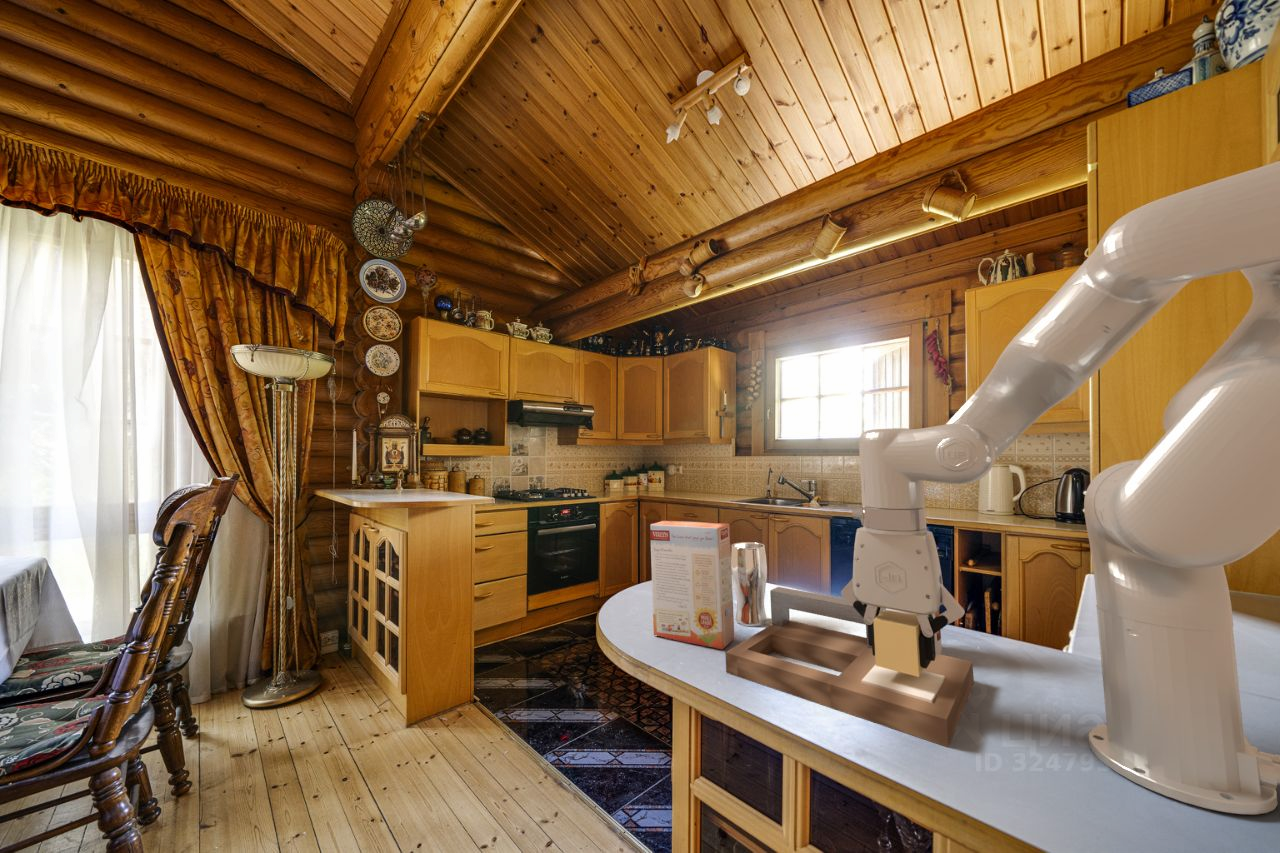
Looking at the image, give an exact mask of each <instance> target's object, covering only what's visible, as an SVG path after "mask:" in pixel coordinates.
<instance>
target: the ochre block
mask: <svg viewBox="0 0 1280 853" xmlns="http://www.w3.org/2000/svg"><path fill="white" fill-rule="evenodd" d="M873 622H874V641H875V659H876V666H879V667H883V668H887V669H890V670H894V671H898V672H902V673H906V674H909V675H913V676H917V677H919V676H920V674H921V673H922V671H923V670H924V668H922V667H921V666H920V653H919V635H920V634H921V627H920V624H919V622H918V619H917V616H916V615H911V614H906V613H900V612H895V611H890V610H886V609H885V610H883V611H882V612H881V613H880V614H879V615H878V616H876V617H875V618H874V619H873Z"/></svg>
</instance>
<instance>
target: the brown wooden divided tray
mask: <svg viewBox="0 0 1280 853" xmlns="http://www.w3.org/2000/svg"><path fill="white" fill-rule="evenodd" d="M770 654H775V655H780V656H784V657H787V658H790V659H795V660H798V661H801V662H805V663H808V664H811V665H815V666H818V667H819V666H820V667H823V668H825V669H830V670H832V671H836V672H840V673H839V675H837V674H833V673H830V672H827V671H823V670H819V669H815V668H812V667H808V666H805V665H802V664H798V663H795V662H792V661H789V660H786V659H785V660H784V659H781V658H778V657H774V656H772V655H770ZM973 663H974V662H973V661H971V660H966V659H962V658H958V657H954V656H948V655H944V654H941V655H940V654H936V657H935V660H934V661H931V662H930V664H929V665H928V667H927V668H926V669H925V668H924V670H923V671H922V673H921V674H920V676H919V677H917V676H913V675H909V674H906V673H902V672H898V671H894V670H890V669H887V668H883V667H879V666H876V659H875V656H874V655H873V653H872V647H867V637H865V636H862V635H861V636H860V635H855V634H851V633H846V632H842V631H838V630H833V629H830V628H825V627H821V626H816V625H812V624H806V623H802V622H798V621H794V620H793V621H792V620H790V622H788V623H787V624H785V625H784V626H779V625H775V624H772V623H771V624H770V625H768V626H767V627H765V628H764V629H762V630H760V631H758V632H757V633H755V634H753V635H751V636H750V637H749V638H747V639H745V640H743V641H742V642H740V643H738V644H737V645H735V646H734V647H732V648H730V649H729V650H727V651H725V672H727V674H729V673H730V675H733V676H735V675H736V677H738V678H741V679H745V680H747V681H749V682H750V681H751V682H754V683H757V684H759V685H762V686H765V687H768V688H771V689H774V690H778V691H780V692H783V693H786V694H788V695H792V696H795V697H798V698H801V699H804V700H806V701H810V702H813V703H816V704H819V705H822V706H825V707H827V708H830V709H834V710H837V711H839V712H842V713H845V714H848V715H851V716H854V717H857V718H860V719H864V720H867V721H870V722H872V723H875V724H878V725H881V726H883V727H887V728H890V729H893V730H895V731H899V732H902V733H904V734H907V735H911V736H913V737H917V738H919V739H923V740H926V741H929V742H931V743H935V744H937V745H941V746H943V747H946V748H949V746H950V744H951V741H952V740H953V736H954V733H955V731H956V729H957V727H958V725H959V722H960V719H961V717H962V715H963V712H964V709H965V707H966V704H967V702H968V700H969V697H970V695H971V691H972V690H973V687H974V685H975V681H974V680H975V679H974V665H973Z"/></svg>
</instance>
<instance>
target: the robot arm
mask: <svg viewBox="0 0 1280 853" xmlns="http://www.w3.org/2000/svg"><path fill="white" fill-rule="evenodd" d="M1236 271H1240V272H1241V273H1242V275H1243V276H1244V277H1245V279H1246V280H1247V281H1248V283H1249V286H1250V288H1251V292H1252V303H1251V304H1250V308H1249V309H1248V311H1247V312H1246V314H1245V316H1244V317H1243V318H1242V320H1241V321H1240V323H1239V324H1237V325H1236V328H1234V330H1233V331H1232V333H1230V335H1229V336H1228V338H1227V339H1225V341H1224V342H1223V344H1221V346H1220V347H1219V348H1218V349H1217V350H1216V351H1215V352H1214V353H1213V355H1212V356H1211V357H1210V358H1208V360H1207V361H1206V362H1205V363H1204V364H1203V366H1202V367H1200V369H1199V370H1198V371H1197V372H1196V373H1195V374H1194V375H1193V376H1192V377H1191V378H1190V379H1189V380H1188V382H1187V383H1186V384H1184V385H1183V386H1182V387H1181V388H1180V389H1179V390H1178V391H1177V392H1176V393H1175V394H1174V395H1173V396H1172V397H1171V399H1170V400H1169V402H1168V404H1167V405H1166V407H1165V410H1164V413H1163V416H1162V427H1163V430H1164V435H1162V436H1161V438H1160V439H1159V440H1158V441H1157V443H1156V444H1154V446H1153V447H1152V448H1151V449H1150V450H1149V451H1148V452H1147V454H1146V455H1144V457H1143V458H1141V459H1135V460H1134V459H1133V460H1127V461H1122V462H1119V463H1116V464H1113V465H1111V466H1108V467H1107V468H1105V469H1103V470H1102V471H1101V472H1099V473H1098V474H1096V475H1095V477H1094V478H1093V479H1092V480H1091V482H1090V483H1089V485H1088V486H1087V489H1086V492H1085V496H1084V501H1083V508H1084V509H1083V510H1084V519H1085V526H1086V531H1087V536H1088V537H1087V538H1088V541H1089V542H1088V543H1089V547H1090V553H1091V560H1092V561H1091V562H1092V567H1093V568H1092V569H1093V580H1094V586H1095V597H1096V598H1095V599H1096V615H1097V616H1096V617H1097V625H1098V626H1097V627H1098V640H1099V648H1100V661H1101V671H1102V683H1103V684H1102V686H1103V694H1104V695H1103V698H1104V707H1105V719H1106V724H1100V725H1097V726H1094V727H1093V728H1092V729H1090V730H1089V732H1088V742H1089V744H1090V745H1089V747H1090V746H1091V747H1090V749H1092V750H1091V751H1092V753H1094V755H1095V756H1096V757H1097V758H1098V759H1099V760H1100V761H1101V762H1103V763H1104V764H1105V765H1106V767H1108V768H1110V769H1112V770H1113V771H1114V772H1116V773H1117V774H1119V775H1121V776H1123V777H1124V778H1125V779H1128V780H1129V781H1132V782H1134V783H1135V784H1138V785H1139V786H1142V787H1143V788H1146V789H1148V790H1151V791H1153V792H1156V793H1158V794H1160V795H1163V796H1165V797H1167V798H1170V799H1174V800H1177V801H1180V802H1182V803H1185V804H1188V805H1192V806H1196V807H1199V808H1203V809H1208V810H1211V811H1217V812H1221V813H1227V814H1236V815H1248V816H1249V815H1260V814H1268V813H1269V812H1272V811H1274V810H1276V807H1277V806H1278V804H1279V803H1278V795H1277V794H1278V793H1277V790H1276V789H1277V788H1278V786H1280V754H1272V753H1269V752H1264V751H1261V750H1258V747H1256V746H1252V745H1251V743H1250V742H1249V740H1248V738H1247V736H1246V735H1245V733H1244V723H1243V714H1242V704H1241V694H1240V685H1239V676H1238V675H1239V674H1238V673H1239V672H1238V664H1237V655H1236V644H1235V635H1234V628H1233V627H1234V619H1233V608H1232V601H1231V596H1230V594H1231V593H1230V588H1229V585H1228V583H1229V582H1228V580H1227V575H1226V572H1225V568H1224V566H1226V565H1228V564H1233V563H1234V562H1236V561H1239V560H1241V559H1242V558H1245V557H1246V556H1248V555H1250V554H1251V553H1252V552H1254V551H1255V550H1256V549H1258V548H1259V547H1261V546H1262V545H1264V544H1265V543H1266V541H1268V540H1269V539H1270V538H1271V537H1272V536H1274V535H1275V534H1276V533H1277V532H1278V531H1279V530H1280V160H1278V161H1275V162H1273V163H1272V162H1271V163H1268V164H1266V165H1263V166H1262V165H1261V167H1257V168H1254V169H1250V170H1246V171H1244V172H1240V173H1238V174H1233V175H1230V176H1227V177H1224V178H1220V179H1217V180H1214V181H1211V182H1207V183H1205V184H1201V185H1199V186H1194V187H1192V188H1188V189H1186V190H1183V191H1180V192H1177V193H1173V194H1171V195H1167V196H1165V197H1162V198H1159V199H1155V200H1153V201H1151V202H1149V203H1146V204H1144V205H1142V206H1140V207H1137V208H1135V209H1133V210H1131V211H1129V212H1127V213H1126V214H1124V215H1123V216H1122V217H1120V218H1118V219H1117V220H1116V221H1115V222H1114V223H1113V224H1111V225H1110V226H1109V228H1108V229H1107V230H1106V231H1105V232H1104V234H1103V236H1102V237H1101V239H1100V240H1099V241H1098V243H1097V245H1096V247H1095V249H1093V251H1092V253H1091V254H1090V255H1089V256H1088V257H1087V258H1086V259H1085V260H1084V262H1083V263H1081V265H1080V266H1078V269H1076V271H1075V272H1074V273H1073V274H1072V275H1071V276H1070V277H1069V278H1068V279H1067V281H1065V282H1064V283H1063V285H1062V286H1061V287H1060V288H1059V289H1058V290H1057V291H1056V293H1055V294H1054V295H1053V296H1052V297H1050V299H1049V300H1048V301H1047V302H1046V303H1045V304H1044V305H1043V307H1042V308H1040V310H1039V311H1038V312H1037V313H1036V314H1035V315H1034V316H1033V317H1032V318H1031V319H1030V320H1029V321H1028V322H1027V323H1026V324H1025V326H1024V327H1023V328H1022V329H1020V331H1019V332H1018V333H1017V334H1016V335H1015V336H1014V337H1013V339H1012V340H1011V341H1010V342H1009V343H1008V344H1007V346H1006V347H1005V348H1004V349H1003V351H1002V353H1001V354H1000V356H999V357H998V358H997V360H996V363H995V364H994V366H993V367H992V369H991V371H990V372H989V374H988V375H987V377H986V378H985V379H984V380H983V382H982V383H981V384H980V386H978V388H977V389H976V391H974V393H973V394H972V395H970V397H969V398H968V400H966V402H964V404H963V405H961V407H960V408H959V409H958V410H957V411H956V412H955V414H953V415H952V417H950V419H948V420H947V422H946V423H945V424H941V425H935V426H934V425H933V426H930V427H929V426H928V427H922V428H916V429H915V428H914V429H913V428H912V429H911V428H905V427H904V428H903V427H901V428H897V427H896V428H895V427H894V428H877V429H875V428H874V429H870V430H865V431H863V433H861V435H860V437H859V440H858V449H859V451H858V453H859V469H860V487H861V488H860V489H861V506H860V508H858V509H857V508H856V509H855V508H854V509H852V511H851V517H852V518H853V519H855V520H859V521H860V523H861V527H859V528H857V529H856V533H855V538H854V539H855V540H854V547H853V549H854V550H853V562H852V578H851V580H849V581H848V583H847V584H845V586H844V587H843V589H842V590H841V591H840V595H841V596H842V598H843V599H846V600H847V601H848V602H849V603H850V604H852V605H853V607H854V608H855V609H856V610H857V612H858V613H859V614H860V615H861V616H862V617H863V618H864V622H865V623H866V624H868V643H869V646H872V653H873V655H874V656H875V641H874V622H873V619H874V618H875V617H876V616H878V615H879V614H880V611H881V607H882V608H885V609H886V608H887V609H893V610H898V611H904V612H909V613H915V614H916V616H917V619H918V622H919V624H920V627H921V634H920V635H919V653H920V666H921V667H922V668H925V669H926V668H927V667H928V665H929V664H930V662H931V661H934V660H935V657H936V653H935V637H934V634H935V633H936V632H938V631H939V630H940V631H941V630H942V629H943V628H945V627H946V626H947V625H949V624H952V623H953V622H956V621H957V620H959V619H961V618H962V617H964V615H965V609H964V608H963V606H961V604H960V603H959V602H958V601H957V600H956V599H955V597H954V596H953V595H952V594H951V593H950V592H949V591H948V589H947V588H946V587H945V586H944V584H943V576H942V569H941V564H940V558H939V554H938V549H937V544H936V541H935V538H934V534H933V532H932V531H929V530H927V515H926V501H925V500H926V498H925V497H926V496H925V483H924V482H933V483H938V484H939V483H940V484H946V485H968V484H972V483H975V482H977V481H979V480H981V479H982V478H985V477H986V476H987V474H988V473H990V471H991V469H992V468H993V466H994V463H995V461H996V460H998V458H999V457H1000V456H1001V455H1002V454H1003V453H1004V452H1005V451H1006V450H1007V449H1008V448H1009V447H1010V446H1011V445H1012V444H1014V443H1015V441H1016V440H1018V438H1019V437H1020V436H1021V435H1022V434H1024V432H1025V431H1027V430H1028V429H1029V427H1031V426H1032V425H1033V424H1034V423H1035V422H1036V421H1038V420H1039V418H1041V417H1042V416H1043V415H1044V414H1045V413H1046V412H1048V411H1049V410H1051V409H1052V408H1053V407H1054V406H1056V405H1058V404H1059V403H1060V402H1062V401H1064V400H1066V399H1067V398H1068V397H1070V396H1071V395H1072V394H1074V393H1075V392H1076V391H1077V390H1078V389H1080V388H1081V387H1082V386H1083V385H1084V384H1085V383H1086V382H1087V381H1089V380H1090V379H1091V378H1092V377H1093V376H1094V375H1095V374H1096V373H1097V372H1098V371H1099V370H1100V369H1101V367H1103V366H1104V365H1105V364H1106V363H1107V362H1109V361H1110V359H1111V358H1112V357H1113V356H1114V355H1116V353H1118V351H1120V349H1121V348H1122V347H1124V345H1125V344H1126V343H1128V341H1130V339H1132V338H1133V336H1135V334H1136V333H1138V332H1139V330H1141V329H1142V327H1144V326H1145V325H1146V324H1147V323H1148V322H1150V320H1151V319H1152V318H1153V317H1154V316H1155V315H1156V314H1157V313H1159V312H1160V310H1161V309H1163V308H1164V307H1165V306H1166V304H1168V303H1169V302H1170V301H1171V299H1173V298H1174V297H1175V296H1176V295H1177V294H1178V293H1179V292H1180V291H1181V290H1182V289H1183V288H1184V287H1185V286H1187V285H1188V284H1189V283H1191V282H1192V281H1193V280H1197V279H1202V278H1206V277H1212V276H1216V275H1221V274H1227V273H1232V272H1236ZM942 605H943V606H944V607H945V609H946V610H945V611H944V612H941V613H939V615H938V616H937V617H935V618H934V616H933V614H934V613H935V612H937V611H938V609H939V610H940V606H942Z"/></svg>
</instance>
